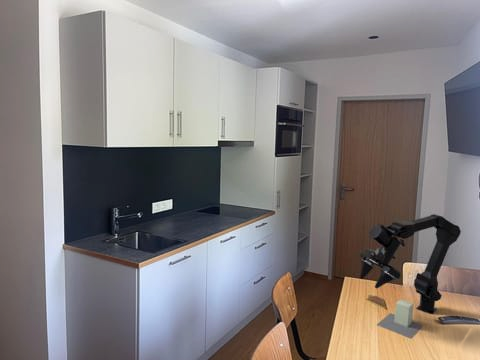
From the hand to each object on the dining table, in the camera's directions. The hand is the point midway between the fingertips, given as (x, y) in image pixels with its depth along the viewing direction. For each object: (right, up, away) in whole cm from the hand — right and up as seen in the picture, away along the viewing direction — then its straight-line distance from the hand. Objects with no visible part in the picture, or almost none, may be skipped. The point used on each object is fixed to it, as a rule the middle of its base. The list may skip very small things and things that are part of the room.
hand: (368, 283), depth 140 cm
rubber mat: (+11, -16, -3) cm, 20 cm away
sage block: (+13, -15, -1) cm, 20 cm away
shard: (+11, -14, +16) cm, 24 cm away
